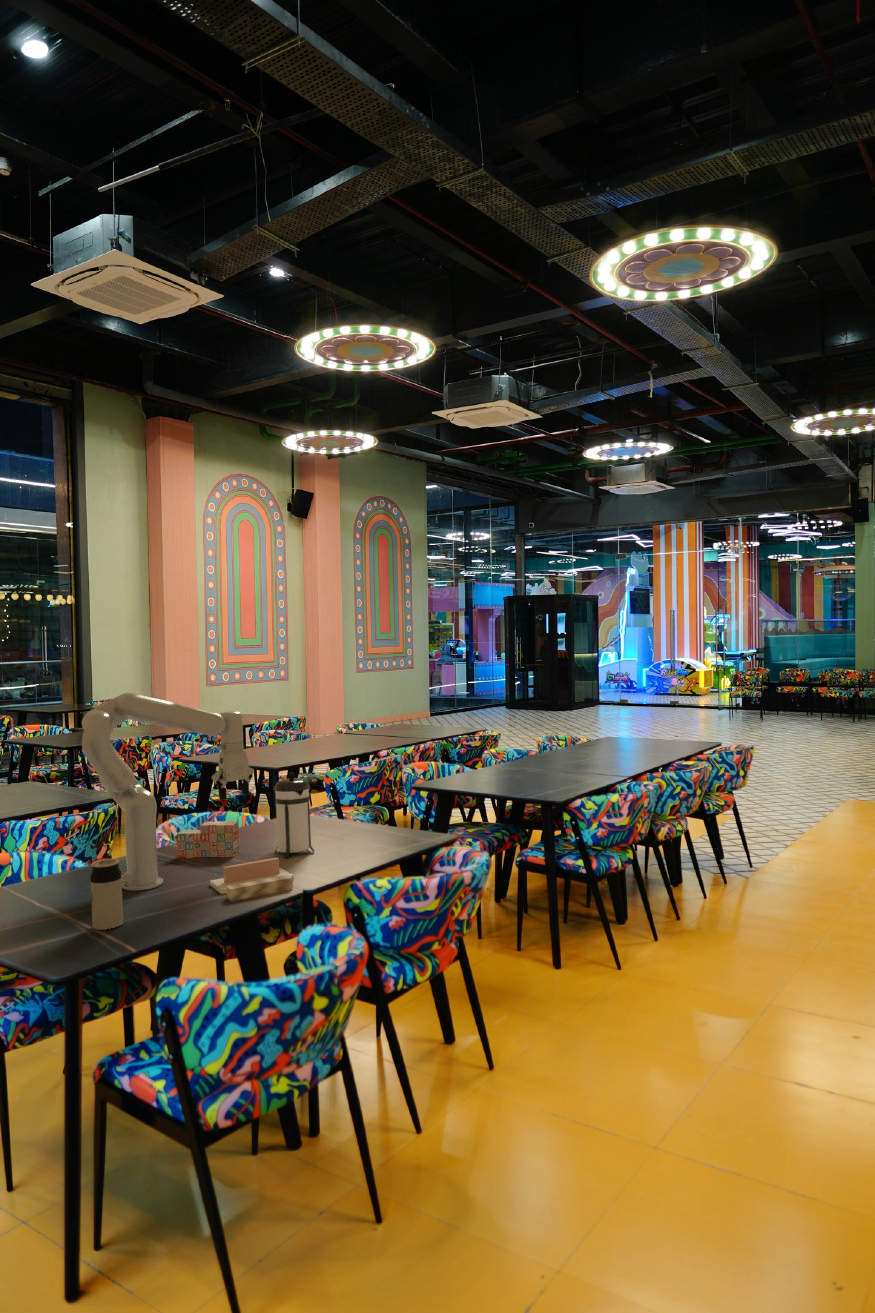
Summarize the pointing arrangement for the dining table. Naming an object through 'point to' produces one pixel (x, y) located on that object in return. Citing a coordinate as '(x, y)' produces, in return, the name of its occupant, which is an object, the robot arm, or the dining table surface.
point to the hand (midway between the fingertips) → (234, 796)
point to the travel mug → (106, 894)
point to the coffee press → (293, 815)
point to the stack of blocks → (209, 840)
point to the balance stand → (248, 873)
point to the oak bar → (259, 887)
